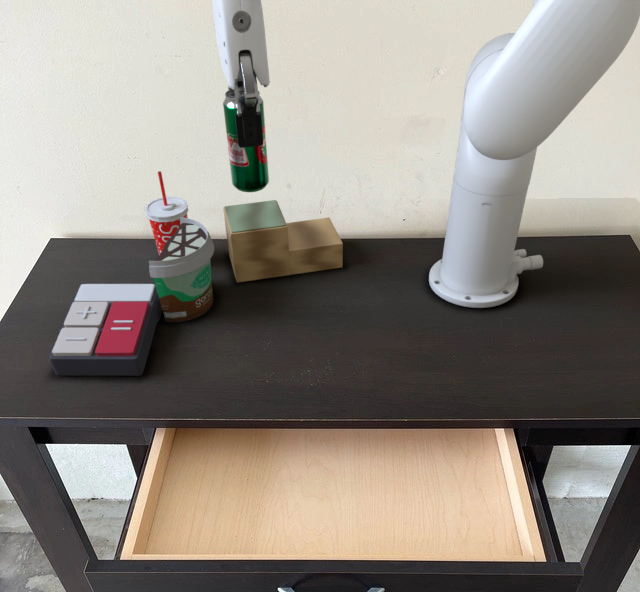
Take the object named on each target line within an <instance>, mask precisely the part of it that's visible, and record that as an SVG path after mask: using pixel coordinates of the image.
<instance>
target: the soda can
mask: <svg viewBox="0 0 640 592" xmlns="http://www.w3.org/2000/svg"><path fill="white" fill-rule="evenodd" d="M243 96H244V92H240V99H241V98H242V97H243ZM258 96H259V105H260V111H261V117H262V131H263V145H261V146H253V147H245V148H240V147H239V146H238V141H237V131H236V121H235V114H237V108H236V101H235V93H234V90H233V89H231V90H227V91H226V92H225V93H224V101H223V102H222V109H223V115H224V116H223V117H224V123H225V132H226V143H227V151H228V152H227V153H228V160H229V169H230V177H231V178H230V179H231V184H232V185H233V187H234V188H235V189H236V190H238V191H239V192H243V193H256V192H259V191H262V190H264V189H265V188H266V187H267V186H268V184H269V182H270V176H269V160H268V149H267V148H268V147H267V135H266V132H267V131H266V122H265V105H264V100H263V98H262V97H261V92H260V91H259V90H258Z"/></svg>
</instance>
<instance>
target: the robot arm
mask: <svg viewBox="0 0 640 592" xmlns="http://www.w3.org/2000/svg"><path fill="white" fill-rule="evenodd" d="M211 7H212V15H213V23H214V32H215V40H216V45H217V52H218V57H219V62H220V67H221V70H222V73H223V76H224V78H225V81H226V83H227V89H228V90H231V89H233V90H234V93H235V101H236V108H237V114H235V121H236V131H237V141H238V146H239V147H240V148H245V147H253V146H261V145H263V131H262V117H261V111H260V105H259V96H258V91H259V87H258V82H259V85H260V86H263V87H264V88H268V87H269V85H270V83H271V81H270V70H269V60H268V48H267V39H266V28H265V27H266V26H265V18H264V13H263V12H264V11H263V5H262V0H211ZM639 21H640V0H532V9H531V11H530V12H529V14H528V15H527V16H526V18H525V19H524V21H523V22H522V23H521V25H520V26H519V27H518V29H517V30H516V31H515V32H509V33H508V32H507V33H503V34H500V35H498V36H496V37H494V38H492V39H490V40H488V42H486V43H485V44H484V45H483V46H481V48H479V50H478V51H477V53H476V54H475V56H474V57H473V59H472V61H471V63H470V64H469V67H468V68H467V69H468V70H467V72H466V76H465V82H464V88H463V99H462V108H461V117H460V126H459V134H458V141H457V148H456V157H455V163H454V164H455V165H454V170H453V171H454V172H453V175H452V176H453V177H452V184H451V191H450V199H449V206H448V212H447V219H446V220H447V221H446V228H445V236H444V243H443V249H442V250H443V251H442V258H441V259H439V260H438V261H436V262H435V263H434V264H433V265H432V266H431V268H430V270H429V274H428V282H429V286H430V288H431V290H432V291H433V292H434V293H435V295H437V296H438V297H439V298H441V299H443V300H445V301H446V302H448V303H451V304H453V305H456V306H459V307H460V306H461V307H464V308H472V309H484V308H485V309H486V308H492V307H493V308H494V307H496V306H500V305H503V304H505V303H507V302H508V301H510V300H511V299H513V297H515V295H516V294H517V292H518V287H519V277H518V275H521V274H522V273H523V271H533V270H539V269H542V268H543V266H544V258H543V256H542V255H541V254H535V255H529V256H527V250H526V249H525V248H521V249H516V245H517V240H518V235H519V232H520V226H521V222H522V217H523V212H524V209H525V203H526V199H527V195H528V191H529V186H530V184H531V178H532V176H533V175H532V174H533V171H534V165H535V161H536V156H537V150H538V147H539V146H540V145H541V144H543V143H544V142H545V141H546V140H547V139H548V138H549V137H550V136H551V135H552V134H553V133H554V132H555V130H557V128H559V126H560V125H561V124H562V123H563V121H564V120H565V119H566V118H567V117H568V116H569V115H570V114H571V113H572V112H573V110H574V109H575V108H576V107H577V106H578V105H579V104H580V102H581V101H582V100H583V99H584V98H585V97H586V95H587V94H588V93H589V92H590V91H591V90H592V89H593V88H594V86H595V85H596V84H597V83H598V82H599V81H600V80H601V78H602V77H603V76H604V75H605V74H606V73H607V71H608V70H609V69H610V68H611V66H612V65H613V64H615V62H616V61H617V60H618V58H619V57H620V55H621V54H622V53H623V51H624V50H625V49H626V47H627V45H628V43H629V42H630V40H631V38H632V36H633V34H634V32H635V30H636V28H637V26H638V23H639ZM228 90H227V91H228ZM240 92H244V96H243V97H242V98H241V99H240Z"/></svg>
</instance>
